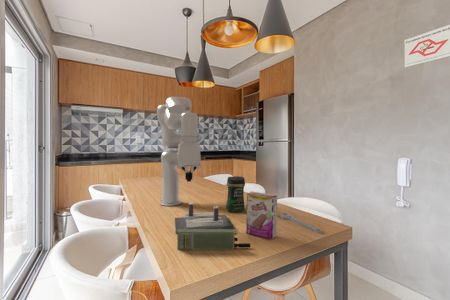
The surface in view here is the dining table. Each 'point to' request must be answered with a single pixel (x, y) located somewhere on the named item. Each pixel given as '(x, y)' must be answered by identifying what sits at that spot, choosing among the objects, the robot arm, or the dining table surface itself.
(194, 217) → the breaker panel
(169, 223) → the dining table surface
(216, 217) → the handle
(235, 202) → the coffee jar
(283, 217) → the adjustable wrench
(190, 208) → the handle
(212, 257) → the dining table surface
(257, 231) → the candy bar box
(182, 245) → the handheld radio
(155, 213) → the dining table surface
